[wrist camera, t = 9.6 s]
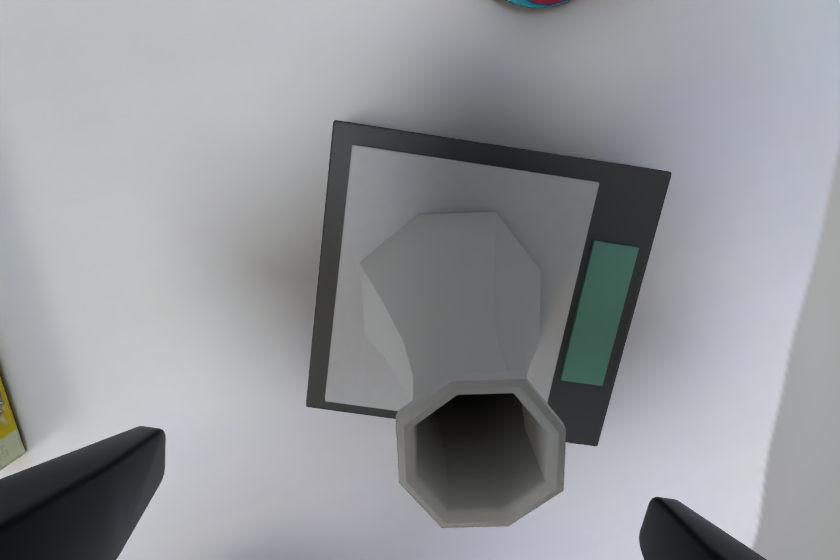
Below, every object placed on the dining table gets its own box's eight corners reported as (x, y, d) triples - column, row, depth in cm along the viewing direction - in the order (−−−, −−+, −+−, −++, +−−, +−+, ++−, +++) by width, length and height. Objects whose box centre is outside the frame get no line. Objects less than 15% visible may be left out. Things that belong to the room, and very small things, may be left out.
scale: (584, 425, 22) (603, 456, 20) (314, 387, 22) (301, 416, 19) (650, 171, 19) (683, 172, 17) (341, 123, 19) (329, 117, 16)
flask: (510, 179, 17) (626, 196, 7) (565, 351, 18) (721, 556, 9) (329, 247, 18) (212, 348, 8) (398, 407, 19) (371, 656, 9)
